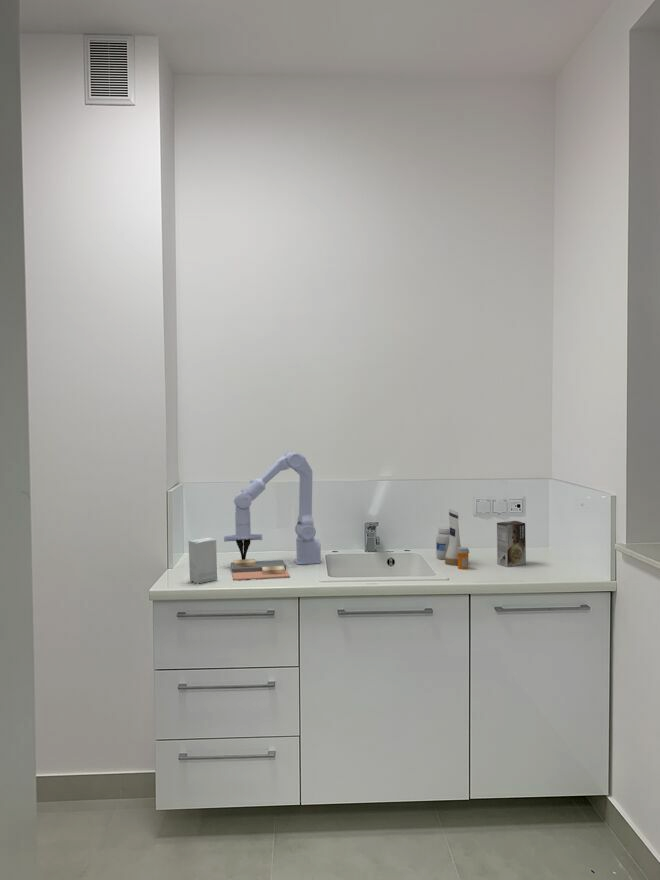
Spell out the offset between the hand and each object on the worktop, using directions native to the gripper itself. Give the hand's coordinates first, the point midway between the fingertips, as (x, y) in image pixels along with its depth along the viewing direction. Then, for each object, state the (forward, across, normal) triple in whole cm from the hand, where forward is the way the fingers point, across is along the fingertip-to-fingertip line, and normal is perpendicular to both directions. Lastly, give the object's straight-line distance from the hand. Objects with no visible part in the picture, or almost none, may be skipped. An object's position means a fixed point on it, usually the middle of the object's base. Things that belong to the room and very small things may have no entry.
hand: (243, 559), depth 270 cm
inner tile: (+2, +10, -16) cm, 19 cm away
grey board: (+3, +5, -6) cm, 9 cm away
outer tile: (+1, 0, -7) cm, 7 cm away
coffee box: (+3, +100, -21) cm, 103 cm away
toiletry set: (+3, +80, -13) cm, 81 cm away
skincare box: (+3, -16, -20) cm, 25 cm away
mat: (+3, +5, -17) cm, 18 cm away
